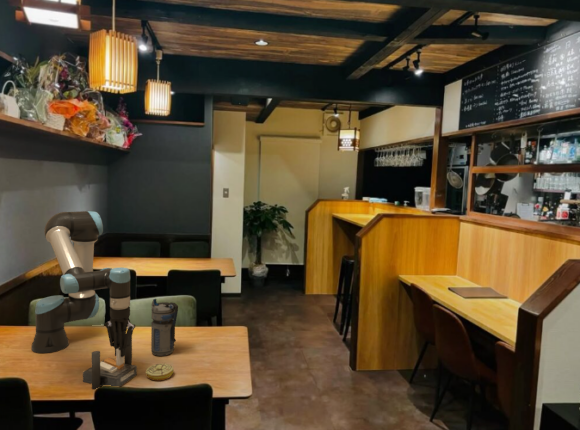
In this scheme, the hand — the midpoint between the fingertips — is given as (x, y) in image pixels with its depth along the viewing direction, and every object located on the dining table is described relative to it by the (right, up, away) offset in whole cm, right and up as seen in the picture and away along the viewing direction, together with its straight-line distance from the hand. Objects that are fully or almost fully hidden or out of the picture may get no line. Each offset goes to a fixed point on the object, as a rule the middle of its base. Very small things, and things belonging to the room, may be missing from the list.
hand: (120, 363), depth 169 cm
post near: (-6, -6, -8) cm, 12 cm away
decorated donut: (+15, -7, +3) cm, 17 cm away
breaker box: (-4, -6, -1) cm, 7 cm away
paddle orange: (-3, 0, +1) cm, 3 cm away
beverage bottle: (+10, -4, +26) cm, 28 cm away
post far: (-1, -5, +10) cm, 11 cm away
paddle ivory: (-4, 0, -3) cm, 5 cm away
